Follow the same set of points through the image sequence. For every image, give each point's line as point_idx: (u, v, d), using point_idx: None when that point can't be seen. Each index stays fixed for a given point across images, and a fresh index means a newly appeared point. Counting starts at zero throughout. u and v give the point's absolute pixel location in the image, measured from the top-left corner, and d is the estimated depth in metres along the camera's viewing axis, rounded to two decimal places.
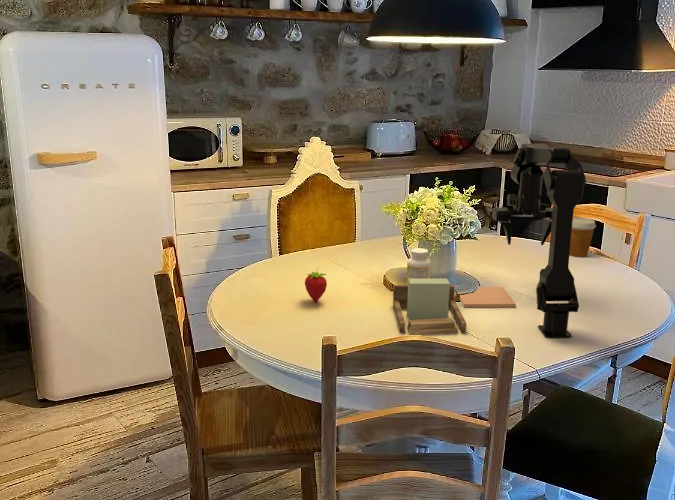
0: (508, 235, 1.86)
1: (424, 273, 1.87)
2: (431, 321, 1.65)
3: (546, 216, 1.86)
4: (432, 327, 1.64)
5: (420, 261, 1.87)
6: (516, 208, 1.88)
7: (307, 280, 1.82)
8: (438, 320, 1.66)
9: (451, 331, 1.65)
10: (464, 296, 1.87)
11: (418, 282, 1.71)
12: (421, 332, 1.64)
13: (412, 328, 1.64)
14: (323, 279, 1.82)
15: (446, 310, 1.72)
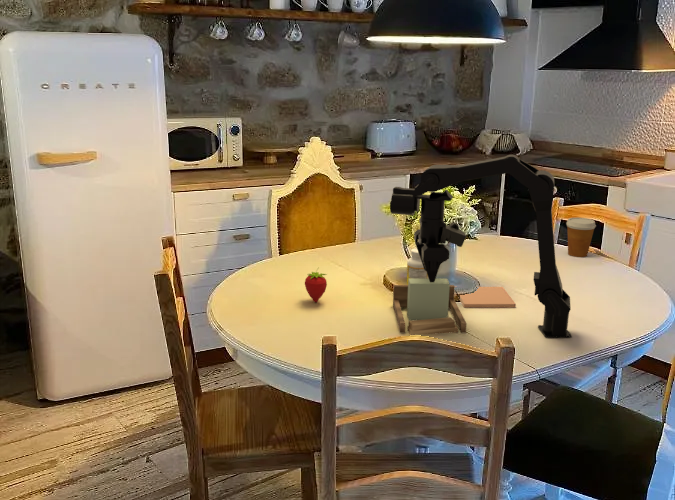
0: None
1: (424, 273, 1.87)
2: (431, 321, 1.65)
3: None
4: (433, 327, 1.64)
5: (420, 261, 1.87)
6: None
7: (307, 280, 1.82)
8: (438, 320, 1.66)
9: (451, 330, 1.65)
10: (464, 296, 1.87)
11: (418, 282, 1.71)
12: (422, 333, 1.64)
13: (414, 329, 1.63)
14: (323, 279, 1.82)
15: (446, 310, 1.72)
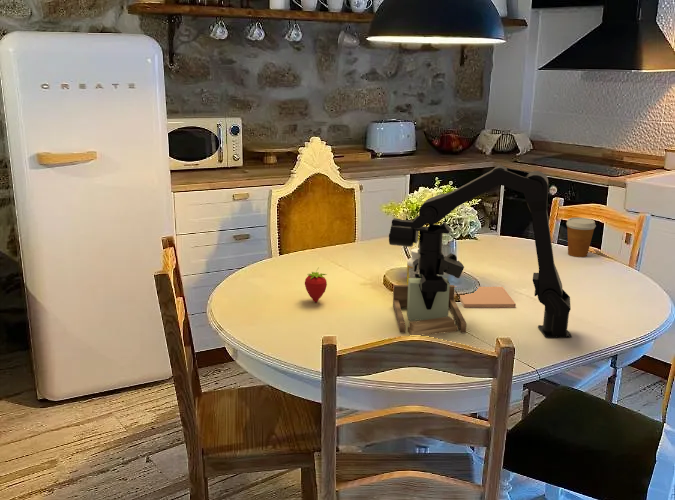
0: None
1: None
2: (432, 321, 1.65)
3: None
4: (434, 327, 1.64)
5: None
6: None
7: (307, 280, 1.82)
8: (438, 320, 1.66)
9: (451, 329, 1.66)
10: (464, 296, 1.87)
11: (418, 282, 1.71)
12: (424, 333, 1.64)
13: (415, 330, 1.63)
14: (323, 279, 1.82)
15: (446, 310, 1.72)
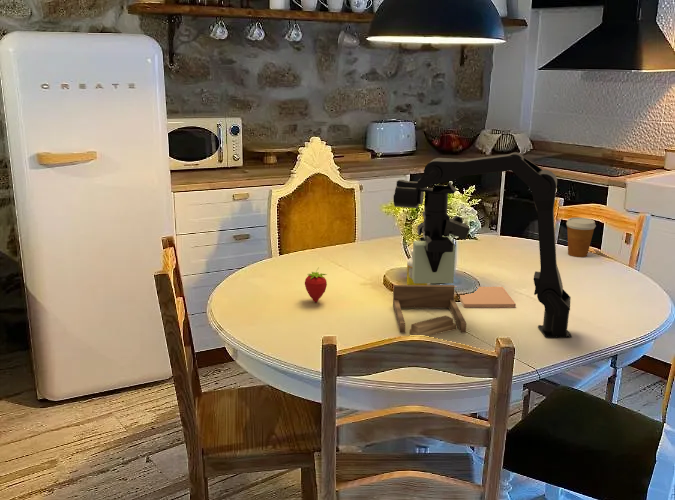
0: None
1: None
2: (432, 321, 1.65)
3: None
4: (435, 327, 1.64)
5: None
6: None
7: (307, 280, 1.82)
8: (437, 319, 1.66)
9: (451, 328, 1.67)
10: (464, 296, 1.87)
11: (423, 244, 1.69)
12: (426, 334, 1.63)
13: (419, 331, 1.62)
14: (323, 279, 1.82)
15: (452, 272, 1.70)
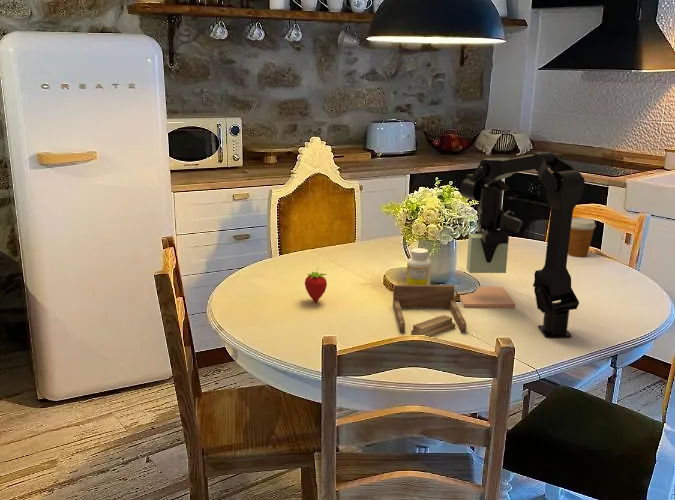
0: None
1: (424, 273, 1.87)
2: (433, 322, 1.65)
3: None
4: (436, 327, 1.64)
5: (420, 261, 1.87)
6: None
7: (307, 280, 1.82)
8: (437, 319, 1.66)
9: (450, 327, 1.67)
10: (464, 296, 1.87)
11: (478, 236, 1.82)
12: (428, 334, 1.63)
13: (422, 332, 1.61)
14: (323, 279, 1.82)
15: (505, 263, 1.84)
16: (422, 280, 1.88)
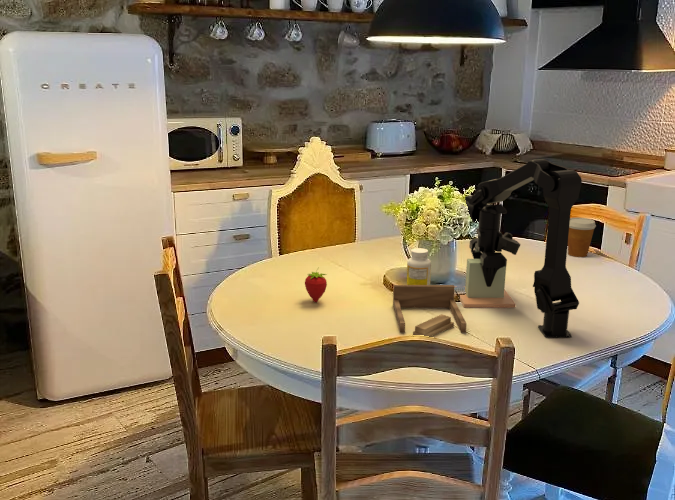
0: None
1: (424, 273, 1.87)
2: (433, 322, 1.65)
3: None
4: (437, 327, 1.64)
5: (420, 261, 1.87)
6: None
7: (307, 280, 1.82)
8: (436, 319, 1.67)
9: (449, 326, 1.68)
10: (464, 296, 1.87)
11: (476, 262, 1.84)
12: (430, 335, 1.63)
13: (425, 333, 1.61)
14: (323, 279, 1.82)
15: (502, 288, 1.86)
16: (422, 280, 1.88)
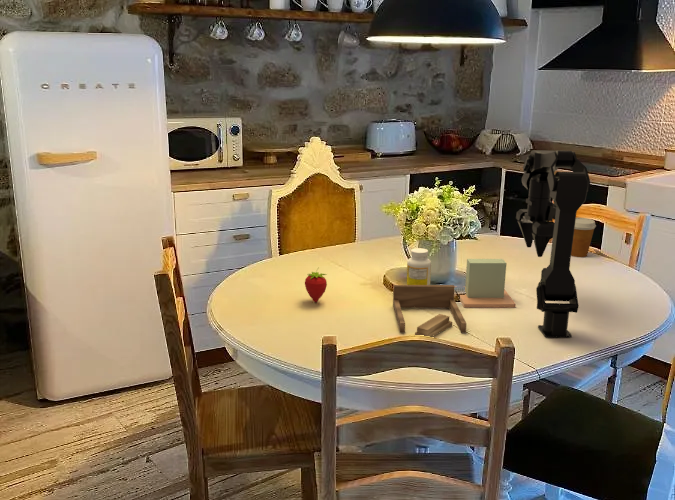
0: (523, 236, 1.91)
1: (424, 273, 1.87)
2: (434, 322, 1.65)
3: None
4: (438, 327, 1.65)
5: (420, 261, 1.87)
6: None
7: (307, 280, 1.82)
8: (436, 319, 1.67)
9: (448, 326, 1.68)
10: (464, 296, 1.87)
11: (476, 262, 1.84)
12: (432, 335, 1.63)
13: (427, 333, 1.61)
14: (323, 279, 1.82)
15: (502, 288, 1.86)
16: (422, 280, 1.88)
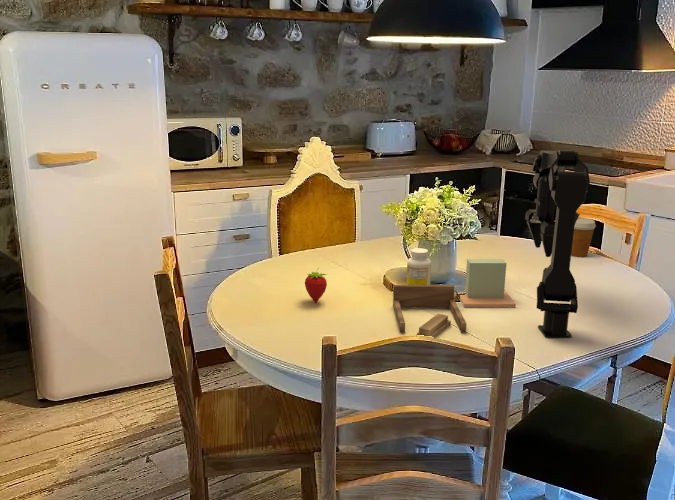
0: (532, 236, 1.91)
1: (424, 273, 1.87)
2: (434, 322, 1.65)
3: None
4: (438, 327, 1.65)
5: (420, 261, 1.87)
6: None
7: (307, 280, 1.82)
8: (436, 319, 1.67)
9: (447, 325, 1.69)
10: (464, 296, 1.87)
11: (476, 262, 1.84)
12: (433, 335, 1.63)
13: (430, 334, 1.61)
14: (323, 279, 1.82)
15: (502, 288, 1.86)
16: (422, 280, 1.88)
